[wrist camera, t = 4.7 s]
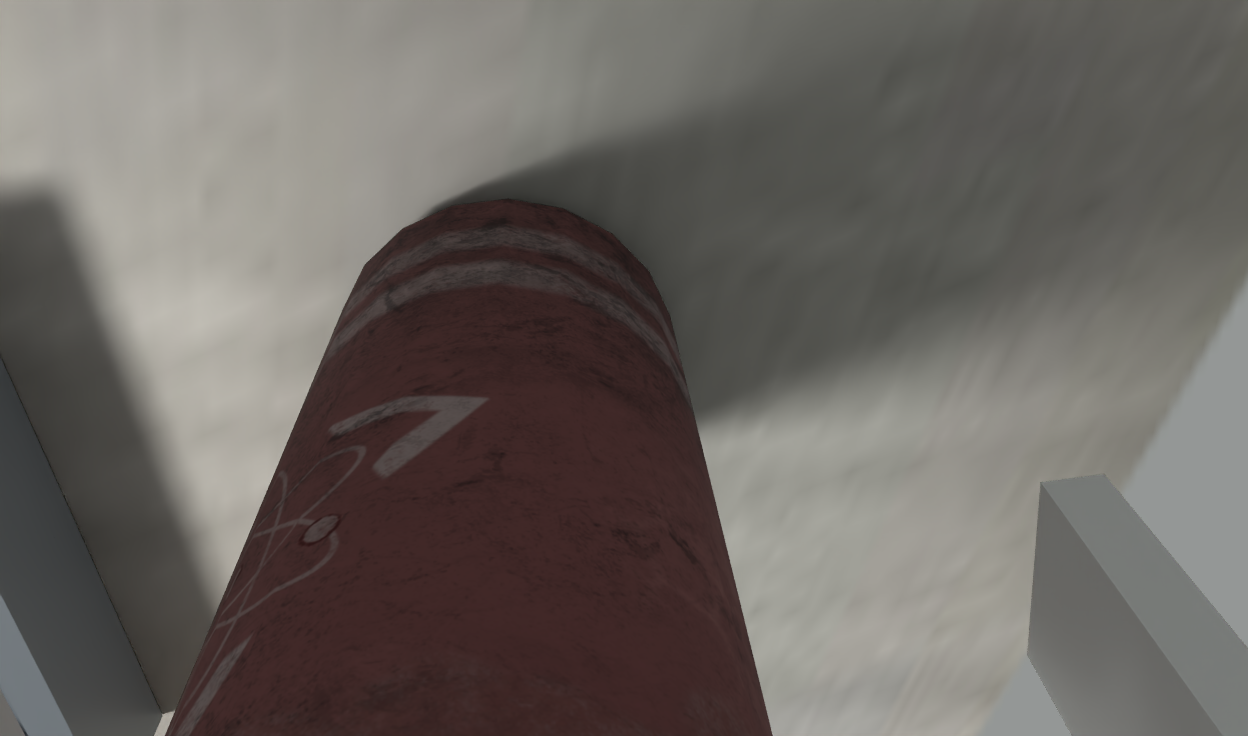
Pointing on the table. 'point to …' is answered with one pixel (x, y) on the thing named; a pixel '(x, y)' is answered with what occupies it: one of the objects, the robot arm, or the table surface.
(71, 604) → the tray
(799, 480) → the table surface
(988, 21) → the table surface
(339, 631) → the can
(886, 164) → the table surface
